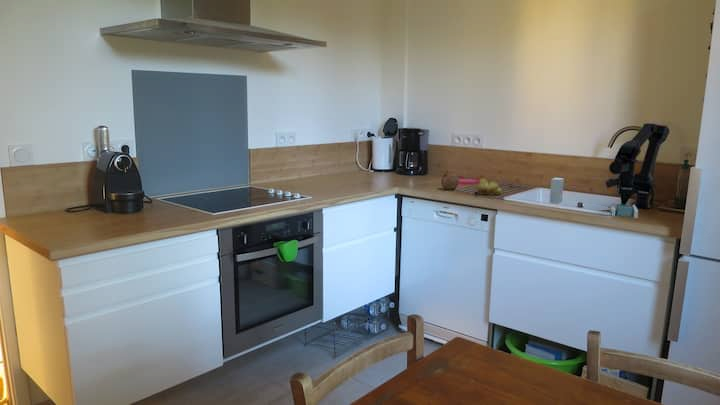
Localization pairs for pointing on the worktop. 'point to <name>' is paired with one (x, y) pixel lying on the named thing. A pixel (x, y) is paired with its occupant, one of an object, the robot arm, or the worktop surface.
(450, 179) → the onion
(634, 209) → the channel
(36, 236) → the worktop surface
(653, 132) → the robot arm
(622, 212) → the teal block
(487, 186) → the green grapes
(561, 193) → the skincare box
